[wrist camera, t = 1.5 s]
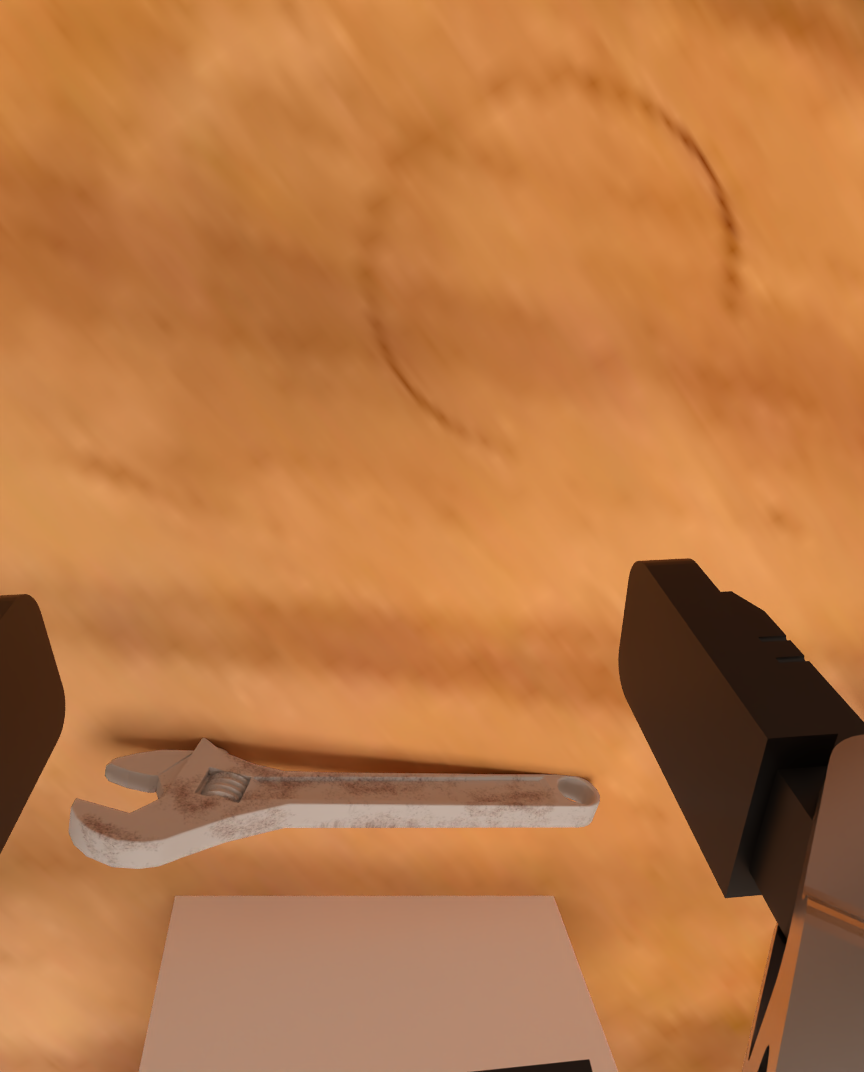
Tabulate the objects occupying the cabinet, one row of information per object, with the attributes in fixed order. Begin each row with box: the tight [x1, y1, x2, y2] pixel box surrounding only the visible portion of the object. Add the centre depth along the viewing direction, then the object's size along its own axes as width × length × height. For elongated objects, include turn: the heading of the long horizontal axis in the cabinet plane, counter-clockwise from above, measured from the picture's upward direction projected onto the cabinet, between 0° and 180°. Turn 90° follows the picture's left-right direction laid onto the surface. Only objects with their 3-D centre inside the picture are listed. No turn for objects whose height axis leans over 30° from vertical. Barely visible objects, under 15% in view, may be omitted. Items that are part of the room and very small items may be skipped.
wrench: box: [69, 738, 600, 869], centre depth 42 cm, size 8×2×30 cm
